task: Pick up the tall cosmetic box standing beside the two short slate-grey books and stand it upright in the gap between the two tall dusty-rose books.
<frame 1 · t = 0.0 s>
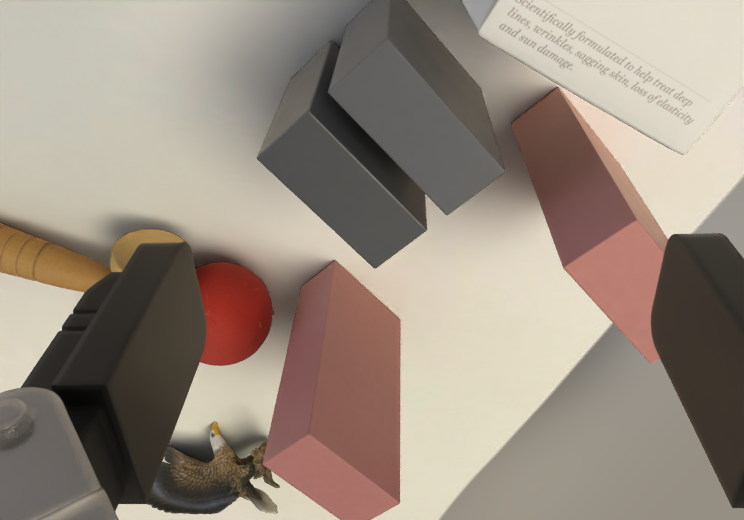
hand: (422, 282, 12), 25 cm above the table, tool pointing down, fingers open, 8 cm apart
grey book 2: (357, 108, 36), on the table
rose book 2: (351, 303, 43), on the table
grey book 1: (415, 58, 35), on the table
rose book 1: (566, 145, 37), on the table
eagle figurine: (222, 441, 50), on the table
kendama: (134, 261, 42), on the table
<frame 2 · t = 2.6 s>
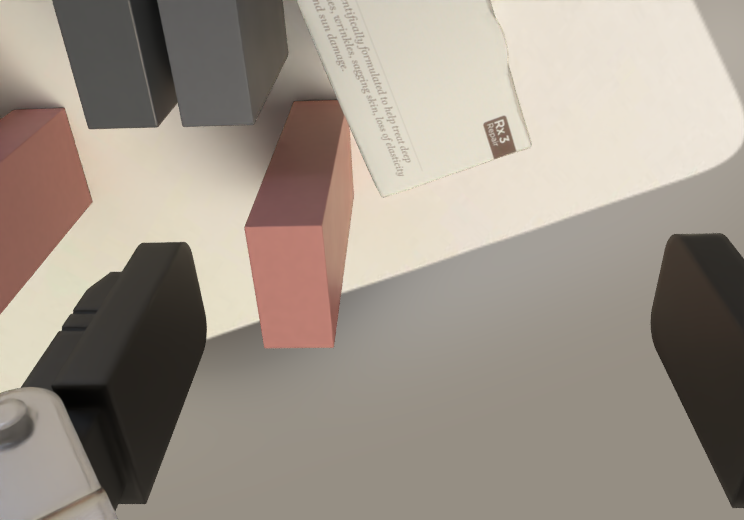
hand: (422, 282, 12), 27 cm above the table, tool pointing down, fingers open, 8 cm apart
rose book 2: (54, 157, 40), on the table
rose book 1: (324, 150, 39), on the table
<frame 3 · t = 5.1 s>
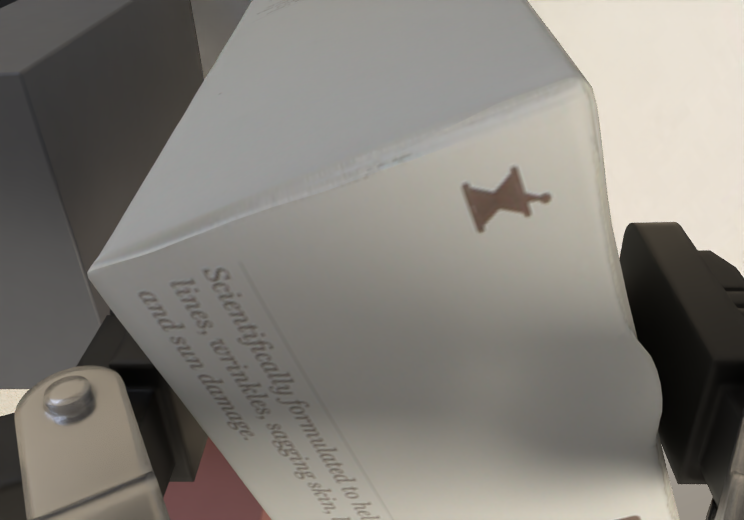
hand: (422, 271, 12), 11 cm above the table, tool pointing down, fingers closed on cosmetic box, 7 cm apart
grey book 1: (158, 86, 22), on the table
cosmetic box: (411, 72, 21), on the table, touching gripper
rose book 1: (284, 314, 26), on the table
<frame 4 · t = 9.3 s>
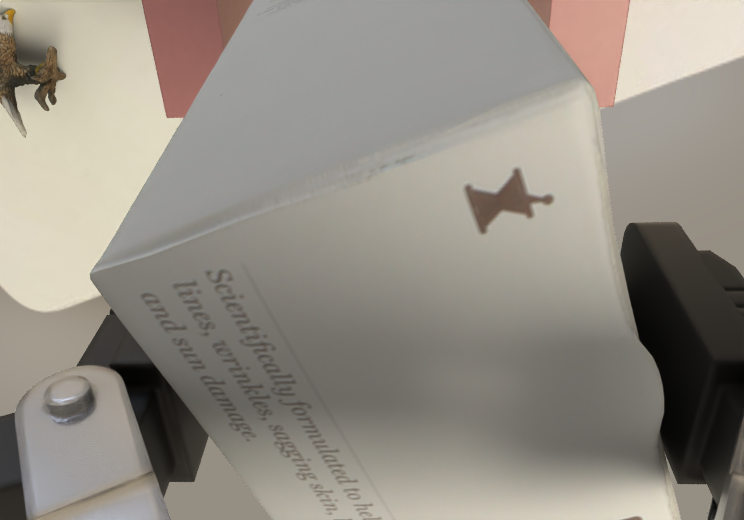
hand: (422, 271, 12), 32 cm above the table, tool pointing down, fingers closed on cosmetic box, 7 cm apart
cosmetic box: (411, 73, 21), point 21 cm above the table, touching gripper
eagle figurine: (4, 39, 42), on the table
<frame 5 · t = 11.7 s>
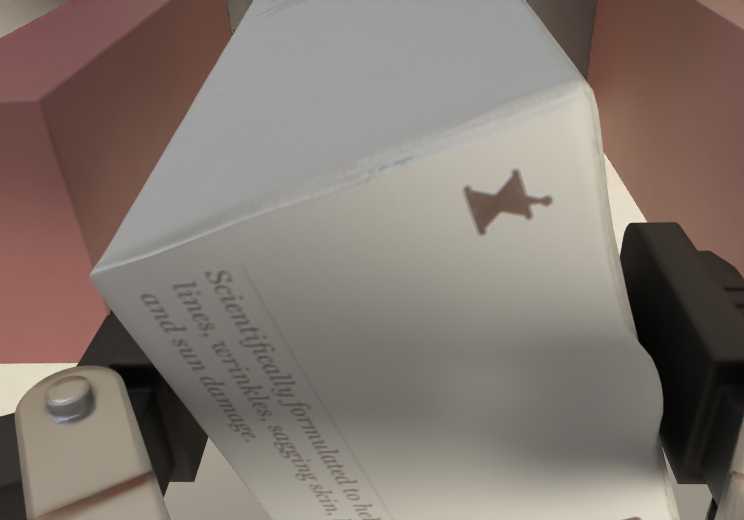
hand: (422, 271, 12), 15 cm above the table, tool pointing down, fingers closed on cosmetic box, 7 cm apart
rose book 2: (193, 51, 25), on the table
cosmetic box: (411, 74, 21), point 4 cm above the table, touching gripper
rose book 1: (634, 35, 24), on the table
when the fingers open (11 cm above the table, at t = 13.7 s): cosmetic box stays where it is, on the table.
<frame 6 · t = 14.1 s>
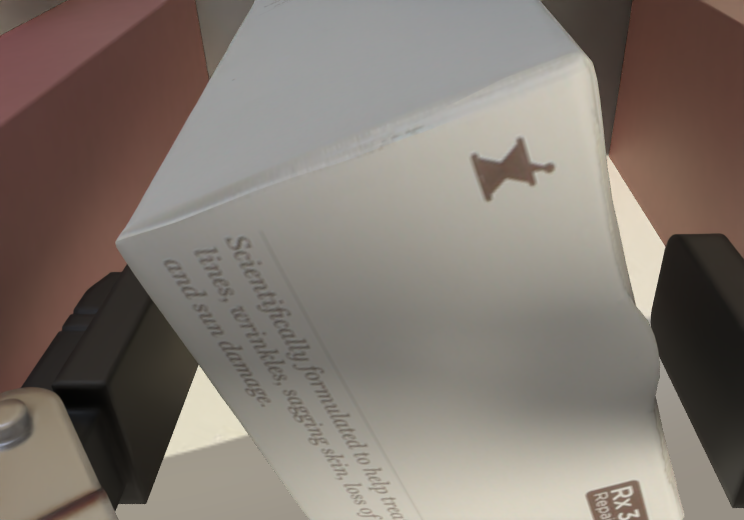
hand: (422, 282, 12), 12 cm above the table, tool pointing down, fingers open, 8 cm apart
rose book 2: (163, 82, 22), on the table
cosmetic box: (412, 67, 22), on the table
rose book 1: (671, 65, 21), on the table
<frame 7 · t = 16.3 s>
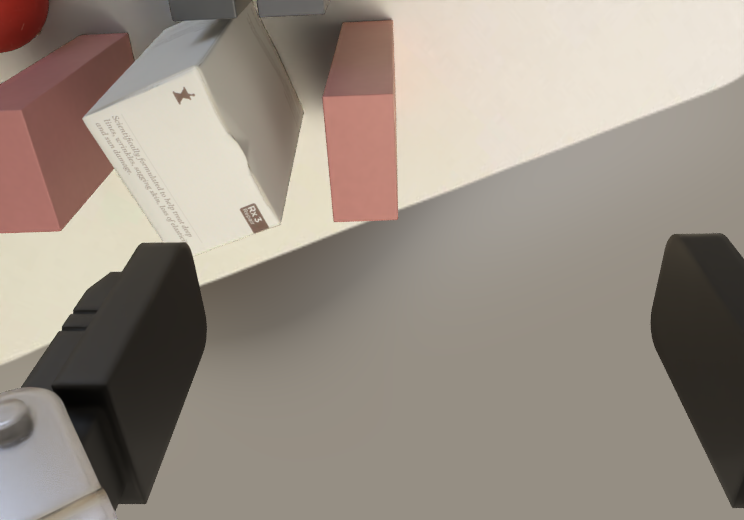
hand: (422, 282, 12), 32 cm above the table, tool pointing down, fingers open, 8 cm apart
rose book 2: (116, 82, 43), on the table
cosmetic box: (242, 73, 43), on the table
rose book 1: (370, 71, 42), on the table
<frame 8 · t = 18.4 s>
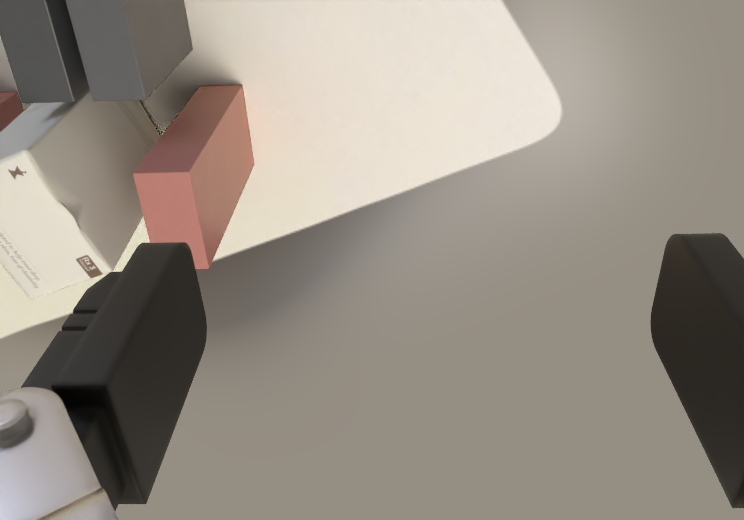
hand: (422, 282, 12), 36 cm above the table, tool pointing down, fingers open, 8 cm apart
rose book 2: (10, 132, 50), on the table
cosmetic box: (118, 126, 49), on the table
rose book 1: (227, 126, 49), on the table
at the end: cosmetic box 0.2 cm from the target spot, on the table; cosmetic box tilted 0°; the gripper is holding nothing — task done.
